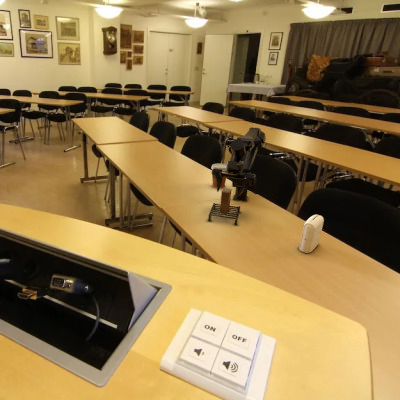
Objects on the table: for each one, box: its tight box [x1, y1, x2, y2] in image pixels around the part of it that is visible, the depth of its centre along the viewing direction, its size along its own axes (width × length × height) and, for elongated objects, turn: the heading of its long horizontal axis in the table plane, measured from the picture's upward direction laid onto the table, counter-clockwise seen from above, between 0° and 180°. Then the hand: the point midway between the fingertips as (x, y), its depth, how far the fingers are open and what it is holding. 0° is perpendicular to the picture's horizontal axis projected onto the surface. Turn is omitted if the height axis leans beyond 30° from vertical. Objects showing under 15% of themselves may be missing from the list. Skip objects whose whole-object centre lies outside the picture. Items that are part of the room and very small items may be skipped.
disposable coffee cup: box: [210, 163, 228, 189], centre depth 176 cm, size 10×10×12 cm
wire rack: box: [207, 202, 241, 226], centre depth 142 cm, size 14×12×3 cm
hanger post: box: [219, 187, 233, 215], centre depth 138 cm, size 3×3×11 cm
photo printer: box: [298, 214, 325, 254], centre depth 115 cm, size 10×4×12 cm, turn 133°
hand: (228, 193), depth 139 cm, fingers open, 9 cm apart
